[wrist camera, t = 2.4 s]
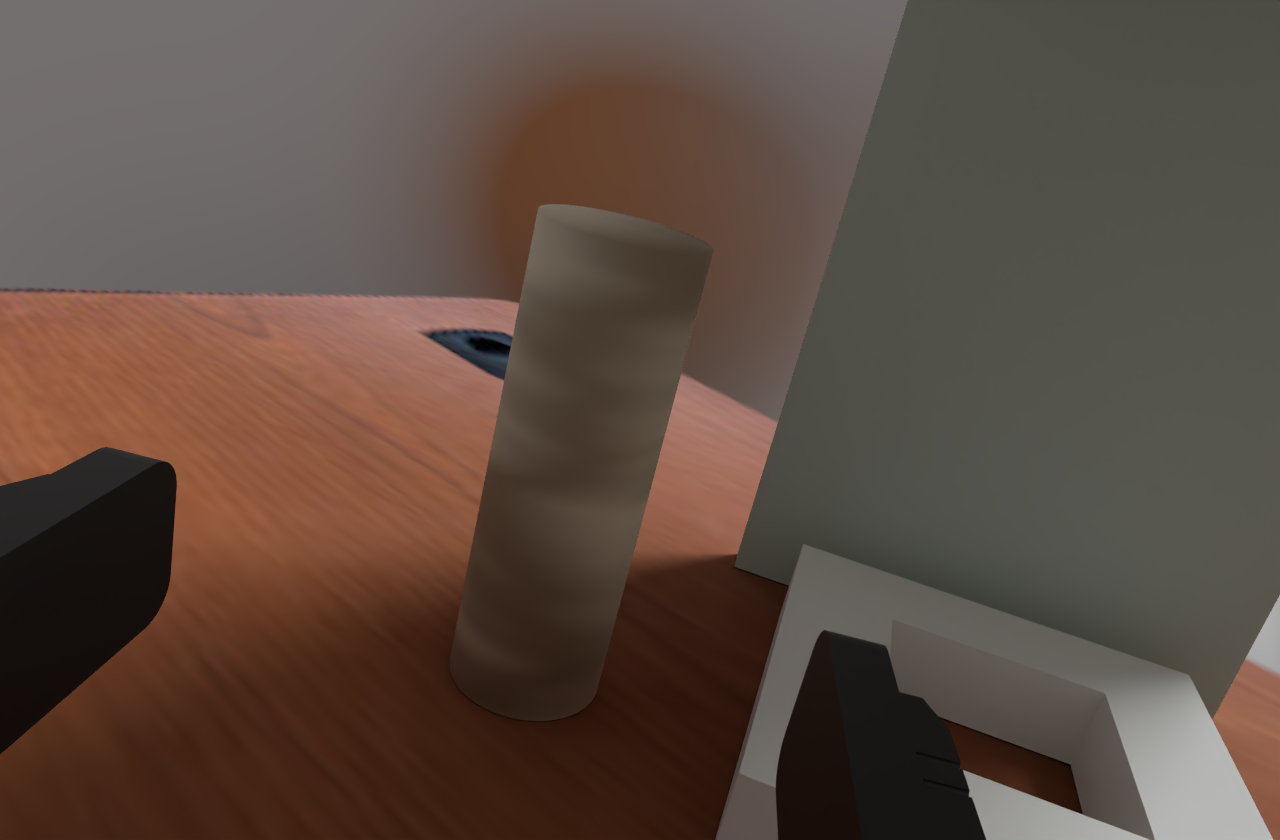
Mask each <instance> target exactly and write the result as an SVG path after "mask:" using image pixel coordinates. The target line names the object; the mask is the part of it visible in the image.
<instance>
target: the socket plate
mask: <svg viewBox="0 0 1280 840" xmlns="http://www.w3.org/2000/svg"><path fill="white" fill-rule="evenodd" d="M823 630H827V631H831V632H835V633H839V634H843V635H847V636H851V637H854V638H858V639H862V640H866V641H870V642H874V643H878V644H882V645H885V646H886V647H887V650H888V652H889V656H890V660H891V663H892V667H893V671H894V674H895V678H896V682H897V685H898V689H899V692H901V693H905V694H909V695H913V696H917V697H921V698H923V699H924V700H925V701H926V703H927V704H928V705H929V706H930V707H931V709H932V710H933V711H934V712H935V713H936V715H937V716H939V717H941V718H944V719H947V720H950V721H952V722H955V723H958V724H960V725H963V726H966V727H969V728H971V729H974V730H977V731H980V732H982V733H985V734H988V735H991V736H993V737H996V738H999V739H1002V740H1004V741H1007V742H1010V743H1013V744H1015V745H1018V746H1021V747H1024V748H1026V749H1029V750H1032V751H1035V752H1037V753H1040V754H1043V755H1045V756H1048V757H1051V758H1054V759H1056V760H1059V761H1062V762H1065V763H1067V764H1070V765H1071V769H1072V773H1073V777H1074V781H1075V785H1076V789H1077V793H1078V797H1079V801H1080V805H1081V809H1082V813H1083V815H1082V814H1080V813H1077V812H1074V811H1072V810H1069V809H1066V808H1064V807H1061V806H1058V805H1056V804H1053V803H1050V802H1048V801H1045V800H1042V799H1039V798H1037V797H1034V796H1031V795H1029V794H1026V793H1023V792H1021V791H1018V790H1015V789H1013V788H1010V787H1007V786H1005V785H1002V784H999V783H997V782H994V781H991V780H989V779H986V778H983V777H981V776H978V775H975V774H973V773H970V772H967V771H964V770H963V772H964V775H965V778H966V781H967V784H968V787H969V790H970V791H969V797H972V799H973V802H974V805H975V808H976V811H977V814H978V816H979V819H980V822H981V825H982V828H983V831H984V834H985V837H986V840H1273V839H1272V837H1271V835H1270V833H1269V831H1268V829H1267V827H1266V825H1265V823H1264V821H1263V819H1262V817H1261V815H1260V813H1259V811H1258V809H1257V807H1256V805H1255V803H1254V801H1253V799H1252V797H1251V795H1250V793H1249V791H1248V789H1247V788H1246V786H1245V784H1244V782H1243V780H1242V778H1241V776H1240V774H1239V772H1238V770H1237V768H1236V766H1235V764H1234V762H1233V760H1232V758H1231V756H1230V754H1229V752H1228V750H1227V748H1226V746H1225V744H1224V742H1223V740H1222V738H1221V736H1220V735H1219V733H1218V731H1217V729H1216V727H1215V725H1214V723H1213V721H1212V719H1211V717H1210V715H1209V713H1208V711H1207V709H1206V707H1205V705H1204V703H1203V701H1202V699H1201V697H1200V695H1199V693H1198V691H1197V689H1196V687H1195V685H1194V684H1193V682H1192V680H1191V678H1190V676H1189V675H1187V674H1184V673H1182V672H1179V671H1176V670H1173V669H1170V668H1167V667H1164V666H1161V665H1158V664H1155V663H1152V662H1149V661H1146V660H1143V659H1140V658H1137V657H1134V656H1132V655H1129V654H1126V653H1123V652H1120V651H1117V650H1114V649H1111V648H1108V647H1105V646H1102V645H1099V644H1096V643H1093V642H1090V641H1087V640H1084V639H1082V638H1079V637H1076V636H1073V635H1070V634H1067V633H1064V632H1061V631H1058V630H1055V629H1052V628H1049V627H1046V626H1043V625H1040V624H1037V623H1034V622H1032V621H1029V620H1026V619H1023V618H1020V617H1017V616H1014V615H1011V614H1008V613H1005V612H1002V611H999V610H996V609H993V608H990V607H987V606H984V605H982V604H979V603H976V602H973V601H970V600H967V599H964V598H961V597H958V596H955V595H952V594H949V593H946V592H943V591H940V590H937V589H934V588H931V587H929V586H926V585H923V584H920V583H917V582H914V581H911V580H908V579H905V578H902V577H899V576H896V575H893V574H890V573H887V572H884V571H881V570H879V569H876V568H873V567H870V566H867V565H864V564H861V563H858V562H855V561H852V560H849V559H846V558H843V557H840V556H837V555H834V554H831V553H829V552H826V551H823V550H820V549H817V548H814V547H811V546H808V545H805V544H803V546H802V549H801V552H800V555H799V558H798V561H797V564H796V567H795V570H794V573H793V576H792V579H791V582H790V585H789V588H788V591H787V594H786V597H785V600H784V603H783V606H782V609H781V613H780V616H779V619H778V623H777V626H776V630H775V633H774V637H773V640H772V644H771V647H770V651H769V654H768V658H767V661H766V665H765V668H764V672H763V675H762V678H761V682H760V685H759V689H758V692H757V696H756V699H755V703H754V706H753V710H752V713H751V717H750V720H749V724H748V727H747V731H746V734H745V738H744V741H743V744H742V748H741V751H740V755H739V758H738V762H737V765H736V769H735V772H734V776H733V779H732V783H731V786H730V790H729V793H728V797H727V800H726V803H725V807H724V810H723V814H722V817H721V821H720V824H719V828H718V831H717V835H716V838H715V840H778V828H777V809H776V774H777V767H778V760H779V755H780V750H781V746H782V742H783V738H784V735H785V732H786V729H787V726H788V723H789V720H790V717H791V714H792V711H793V708H794V705H795V702H796V699H797V696H798V693H799V690H800V687H801V684H802V681H803V678H804V675H805V672H806V669H807V666H808V663H809V660H810V657H811V654H812V651H813V648H814V645H815V643H816V640H817V638H818V636H819V635H820V633H821V632H822V631H823Z"/></svg>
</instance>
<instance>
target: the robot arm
mask: <svg viewBox="0 0 1280 840" xmlns="http://www.w3.org/2000/svg"><path fill="white" fill-rule="evenodd" d="M176 487H177V480H176V474H175V470H174V468H173V466H172V465H171V464H170V463H168V462H165V461H161V460H157V459H153V458H149V457H145V456H141V455H137V454H133V453H129V452H125V451H121V450H117V449H113V448H108V447H105V448H100V449H98V450H96V451H94V452H92V453H90V454H88V455H86V456H85V457H83V458H81V459H79V460H77V461H75V462H73V463H71V464H69V465H67V466H66V467H64V468H62V469H60V470H58V471H56V472H54V473H52V474H47V475H43V476H39V477H35V478H31V479H27V480H23V481H19V482H15V483H11V484H7V485H3V486H0V754H1V753H2V752H3V751H5V750H6V749H7V748H8V747H9V746H10V745H11V744H13V743H14V742H15V741H16V740H17V739H18V738H20V737H21V736H22V735H23V734H24V733H25V732H26V731H28V730H29V729H30V728H31V727H32V726H33V725H34V724H36V723H37V722H38V721H39V720H40V719H41V718H43V717H44V716H45V715H46V714H47V713H48V712H49V711H51V710H52V709H53V708H54V707H55V706H56V705H57V704H59V703H60V702H61V701H62V700H63V699H64V698H65V697H67V696H68V695H69V694H70V693H71V692H72V691H74V690H75V689H76V688H77V687H78V686H79V685H80V684H82V683H83V682H84V681H85V680H86V679H87V678H88V677H90V676H91V675H92V674H93V673H94V672H95V671H97V670H98V669H99V668H100V667H101V666H102V665H103V664H105V663H106V662H107V661H108V660H109V659H110V658H111V657H113V656H114V655H115V654H116V653H117V652H118V651H120V650H121V649H122V648H123V647H124V646H125V645H126V644H128V643H129V642H130V641H131V640H132V639H133V638H134V637H136V636H137V635H138V634H139V633H140V632H141V631H142V630H144V629H145V628H146V627H147V626H148V625H149V624H150V622H151V621H152V620H153V619H154V617H155V616H156V614H157V613H158V611H159V609H160V607H161V605H162V603H163V601H164V598H165V596H166V593H167V590H168V586H169V582H170V575H171V561H172V546H173V531H174V517H175V502H176ZM969 791H970V790H969V787H968V784H967V781H966V778H965V775H964V772H963V770H962V769H960V760H959V757H958V754H957V751H956V748H955V745H954V742H953V739H952V736H951V733H950V730H949V729H948V728H947V727H946V725H945V724H944V723H943V722H942V721H941V719H940V718H939V717H938V716H937V715H936V713H935V712H934V711H933V710H932V709H931V707H930V706H929V705H928V704H927V703H926V701H925V700H924V699H923V698H921V697H917V696H913V695H909V694H905V693H901V692H899V689H898V685H897V682H896V678H895V674H894V671H893V667H892V663H891V660H890V656H889V652H888V650H887V647H886V646H885V645H882V644H878V643H874V642H870V641H866V640H862V639H858V638H854V637H851V636H847V635H843V634H839V633H835V632H831V631H827V630H823V631H822V632H821V633H820V635H819V636H818V638H817V640H816V643H815V645H814V648H813V651H812V654H811V657H810V660H809V663H808V666H807V669H806V672H805V675H804V678H803V681H802V684H801V687H800V690H799V693H798V696H797V699H796V702H795V705H794V708H793V711H792V714H791V717H790V720H789V723H788V726H787V729H786V732H785V735H784V738H783V742H782V746H781V750H780V755H779V760H778V767H777V774H776V809H777V828H778V840H986V837H985V834H984V831H983V828H982V825H981V822H980V819H979V816H978V814H977V811H976V808H975V805H974V802H973V799H972V797H969Z"/></svg>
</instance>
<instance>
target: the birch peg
mask: <svg viewBox="0 0 1280 840" xmlns="http://www.w3.org/2000/svg"><path fill="white" fill-rule="evenodd" d="M712 254H713V248H712V247H711V246H710V245H709V244H707V243H706V242H704V241H702V240H700V239H698V238H696V237H694V236H691V235H689V234H687V233H684V232H682V231H679V230H676V229H673V228H670V227H667V226H664V225H661V224H658V223H654V222H651V221H648V220H644V219H640V218H636V217H632V216H628V215H624V214H620V213H615V212H610V211H605V210H600V209H594V208H589V207H581V206H574V205H562V204H549V205H542V206H540V207H539V208H538V212H537V217H536V222H535V228H534V233H533V238H532V243H531V248H530V253H529V259H528V263H527V269H526V273H525V278H524V283H523V289H522V294H521V299H520V304H519V309H518V314H517V319H516V324H515V329H514V334H513V339H512V345H511V350H510V355H509V360H508V365H507V370H506V375H505V380H504V385H503V390H502V395H501V400H500V406H499V411H498V416H497V421H496V426H495V431H494V436H493V441H492V446H491V451H490V456H489V462H488V467H487V472H486V477H485V482H484V487H483V492H482V497H481V502H480V507H479V512H478V517H477V523H476V528H475V533H474V538H473V543H472V548H471V553H470V558H469V563H468V568H467V573H466V579H465V584H464V589H463V594H462V599H461V604H460V609H459V614H458V619H457V624H456V629H455V634H454V640H453V645H452V650H451V655H450V660H449V669H450V674H451V676H452V679H453V681H454V682H455V684H456V685H457V687H458V688H459V689H460V690H461V692H462V693H463V694H465V695H466V696H467V697H468V698H469V699H470V700H472V701H473V702H475V703H476V704H478V705H479V706H481V707H483V708H485V709H487V710H489V711H491V712H493V713H496V714H499V715H502V716H505V717H509V718H513V719H519V720H526V721H549V720H557V719H561V718H565V717H568V716H571V715H573V714H576V713H578V712H580V711H581V710H583V709H584V708H585V707H587V706H588V705H589V704H590V703H591V701H592V700H593V699H594V697H595V695H596V693H597V689H598V685H599V682H600V678H601V674H602V670H603V667H604V663H605V659H606V655H607V651H608V648H609V644H610V640H611V636H612V633H613V629H614V625H615V621H616V617H617V614H618V610H619V606H620V602H621V598H622V595H623V591H624V587H625V583H626V580H627V576H628V572H629V568H630V564H631V561H632V557H633V553H634V549H635V545H636V542H637V538H638V534H639V530H640V527H641V523H642V519H643V515H644V511H645V508H646V504H647V500H648V496H649V493H650V489H651V485H652V481H653V477H654V474H655V470H656V466H657V462H658V458H659V455H660V451H661V447H662V443H663V440H664V436H665V432H666V428H667V424H668V421H669V417H670V413H671V409H672V405H673V402H674V398H675V394H676V390H677V387H678V383H679V379H680V375H681V371H682V368H683V363H684V360H685V356H686V352H687V349H688V345H689V341H690V337H691V333H692V329H693V326H694V322H695V318H696V315H697V311H698V307H699V303H700V300H701V296H702V292H703V288H704V284H705V280H706V276H707V273H708V269H709V265H710V261H711V258H712Z"/></svg>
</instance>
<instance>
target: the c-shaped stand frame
mask: <svg viewBox="0 0 1280 840" xmlns="http://www.w3.org/2000/svg"><path fill="white" fill-rule="evenodd" d="M803 544H805V545H808V546H811V547H814V548H817V549H820V550H823V551H826V552H829V553H831V554H834V555H837V556H840V557H843V558H846V559H849V560H852V561H855V562H858V563H861V564H864V565H867V566H870V567H873V568H876V569H879V570H881V571H884V572H887V573H890V574H893V575H896V576H899V577H902V578H905V579H908V580H911V581H914V582H917V583H920V584H923V585H926V586H929V587H931V588H934V589H937V590H940V591H943V592H946V593H949V594H952V595H955V596H958V597H961V598H964V599H967V600H970V601H973V602H976V603H979V604H982V605H984V606H987V607H990V608H993V609H996V610H999V611H1002V612H1005V613H1008V614H1011V615H1014V616H1017V617H1020V618H1023V619H1026V620H1029V621H1032V622H1034V623H1037V624H1040V625H1043V626H1046V627H1049V628H1052V629H1055V630H1058V631H1061V632H1064V633H1067V634H1070V635H1073V636H1076V637H1079V638H1082V639H1084V640H1087V641H1090V642H1093V643H1096V644H1099V645H1102V646H1105V647H1108V648H1111V649H1114V650H1117V651H1120V652H1123V653H1126V654H1129V655H1132V656H1134V657H1137V658H1140V659H1143V660H1146V661H1149V662H1152V663H1155V664H1158V665H1161V666H1164V667H1167V668H1170V669H1173V670H1176V671H1179V672H1182V673H1184V674H1187V675H1189V676H1190V678H1191V680H1192V682H1193V684H1194V685H1195V687H1196V689H1197V691H1198V693H1199V695H1200V697H1201V699H1202V701H1203V703H1204V705H1205V707H1206V709H1207V711H1208V713H1209V715H1210V717H1211V719H1213V717H1214V715H1215V713H1216V712H1217V710H1218V708H1219V706H1220V704H1221V702H1222V701H1223V699H1224V697H1225V695H1226V693H1227V691H1228V689H1229V688H1230V686H1231V684H1232V682H1233V680H1234V678H1235V676H1236V675H1237V673H1238V671H1239V669H1240V667H1241V665H1242V664H1243V662H1244V660H1245V658H1246V656H1247V654H1248V652H1249V650H1250V649H1251V647H1252V645H1253V643H1254V641H1255V639H1256V638H1257V635H1258V634H1259V632H1260V630H1261V628H1262V627H1263V625H1264V623H1265V621H1266V619H1267V617H1268V615H1269V614H1270V612H1271V610H1272V608H1273V606H1274V604H1275V602H1276V601H1277V598H1278V597H1279V595H1280V0H908V2H907V5H906V8H905V12H904V15H903V18H902V21H901V25H900V28H899V31H898V35H897V38H896V41H895V44H894V47H893V51H892V54H891V57H890V60H889V64H888V67H887V70H886V74H885V77H884V80H883V83H882V86H881V90H880V93H879V96H878V99H877V103H876V106H875V109H874V112H873V116H872V119H871V122H870V125H869V129H868V132H867V135H866V138H865V142H864V145H863V148H862V151H861V155H860V158H859V161H858V164H857V168H856V171H855V174H854V177H853V181H852V184H851V187H850V190H849V194H848V197H847V200H846V204H845V207H844V210H843V213H842V217H841V220H840V223H839V226H838V230H837V233H836V236H835V240H834V242H833V246H832V249H831V253H830V255H829V259H828V262H827V266H826V268H825V272H824V275H823V278H822V281H821V285H820V288H819V291H818V295H817V298H816V301H815V304H814V308H813V311H812V314H811V317H810V321H809V324H808V327H807V330H806V334H805V337H804V340H803V343H802V347H801V350H800V353H799V356H798V360H797V363H796V366H795V369H794V373H793V376H792V379H791V383H790V386H789V389H788V392H787V395H786V399H785V402H784V406H783V408H782V412H781V415H780V418H779V421H778V425H777V428H776V431H775V434H774V438H773V441H772V444H771V447H770V451H769V454H768V457H767V460H766V464H765V467H764V470H763V473H762V477H761V480H760V483H759V486H758V490H757V493H756V496H755V499H754V503H753V506H752V509H751V512H750V516H749V519H748V522H747V525H746V529H745V532H744V535H743V538H742V542H741V545H740V548H739V551H738V555H737V558H736V561H735V564H734V567H737V568H739V569H742V570H745V571H748V572H751V573H754V574H757V575H759V576H762V577H765V578H768V579H771V580H774V581H777V582H779V583H782V584H785V585H788V586H789V585H790V582H791V579H792V576H793V573H794V570H795V567H796V564H797V561H798V558H799V555H800V552H801V549H802V546H803Z"/></svg>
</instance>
